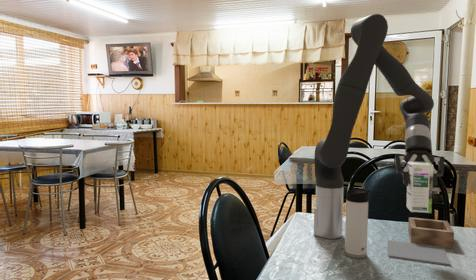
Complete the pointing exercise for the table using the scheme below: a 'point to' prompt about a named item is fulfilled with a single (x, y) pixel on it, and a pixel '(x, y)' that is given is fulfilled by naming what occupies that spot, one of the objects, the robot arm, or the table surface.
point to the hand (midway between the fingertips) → (420, 185)
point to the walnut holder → (430, 232)
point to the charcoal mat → (417, 252)
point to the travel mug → (356, 223)
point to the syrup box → (420, 187)
